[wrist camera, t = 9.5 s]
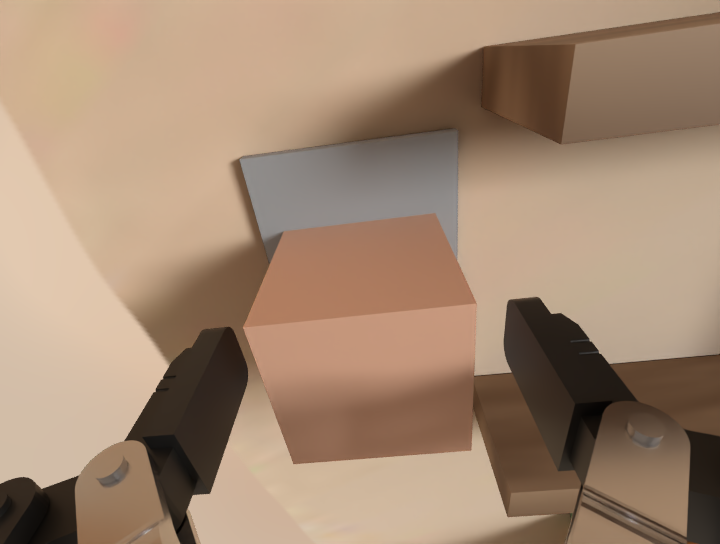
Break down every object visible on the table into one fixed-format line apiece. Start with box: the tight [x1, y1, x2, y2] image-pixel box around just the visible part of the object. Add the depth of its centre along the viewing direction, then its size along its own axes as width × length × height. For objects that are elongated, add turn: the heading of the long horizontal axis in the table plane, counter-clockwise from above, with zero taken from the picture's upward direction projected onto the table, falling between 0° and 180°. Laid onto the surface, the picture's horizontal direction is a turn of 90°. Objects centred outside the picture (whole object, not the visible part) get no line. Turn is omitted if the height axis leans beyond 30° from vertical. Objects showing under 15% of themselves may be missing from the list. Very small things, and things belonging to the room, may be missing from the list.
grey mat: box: [239, 128, 458, 264], centre depth 14 cm, size 10×6×1 cm, turn 7°
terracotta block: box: [243, 213, 477, 464], centre depth 11 cm, size 5×5×5 cm
